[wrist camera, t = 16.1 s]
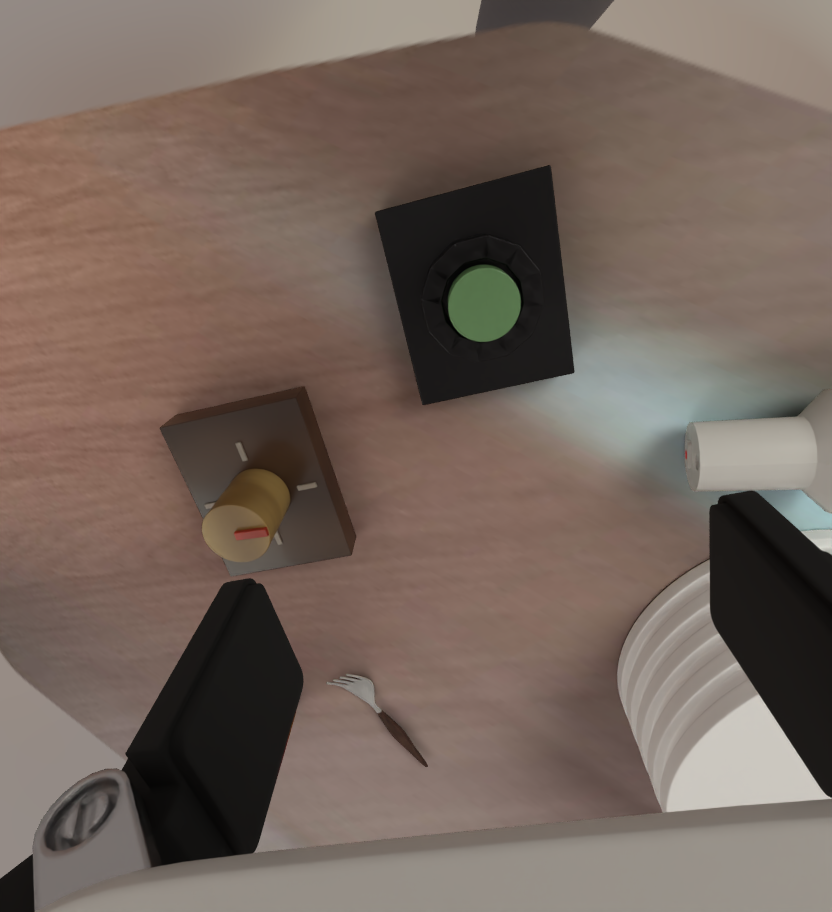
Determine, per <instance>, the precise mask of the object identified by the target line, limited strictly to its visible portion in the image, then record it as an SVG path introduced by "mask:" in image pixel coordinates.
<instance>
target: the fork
mask: <svg viewBox="0 0 832 912" xmlns="http://www.w3.org/2000/svg"><path fill="white" fill-rule="evenodd" d="M346 676H350V677H355V678H358V679H360V680H358V679H353V678H348V677H340V679H345V680H350V681H353V682H349V681H344V680H337V679H333V681H334V682H341V683H345V684H348V685H344V684H340V683H333V682H327V683H326V684H331V685H336V686H340V687H343V688H345V689H346V690H348V691H349V692H351V693H353V694H354V695H356V696H358V697H359V698H361V699H362V700H364V701H365V702H367V703H368V704H370V705H371V706H372V707H373V708H374V709H375V711H376V712H377V714H378V715H379V717H380V718H381V720H382V721H383V723H384V724H385V726H386V727H387V729H388V730H389V732H390V733H391V734H392V736H393V737H394V738H395V739H396V740H397V741H398V742H399V743H400V744H401V745H402V746H403V747H405V748H406V749H407V750H408V751H409V752H410V753H411V754H412V755H413V756H414V757H415V758H416V759H417V760H418V761H419V762H420V763H422V764H423V765H424V766H425V767H428V765H427V763H426V762H425V760H424V759H423V757H422V756H421V754H420V753H419V752H418V750H417V749H416V748H415V746H414V745H413V743H412V742H411V740H410V739H409V737H408V736H407V734H406V733H405V732H404V730H403V729H402V728H401V727H400V726H399V725H398V724H397V723H396V722H395V721H393V720H392V719H391V718H390V717H389V716H388V715H387V714H386V713H384V712H383V711H382V710H381V709H380V708H379V707H378V706H377V705H376V703H375V699H374V685H373V683H372V681H371V680H369V679H368V678H365V677H362V676H358V675H353V674H346Z"/></svg>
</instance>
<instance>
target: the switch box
mask: <svg viewBox="0 0 832 912" xmlns="http://www.w3.org/2000/svg"><path fill="white" fill-rule="evenodd" d="M375 215H376V219H377V223H378V227H379V232H380V236H381V240H382V244H383V248H384V252H385V256H386V260H387V264H388V268H389V272H390V276H391V280H392V284H393V288H394V292H395V296H396V300H397V304H398V308H399V312H400V316H401V320H402V324H403V328H404V332H405V336H406V341H407V345H408V349H409V353H410V357H411V361H412V365H413V369H414V373H415V377H416V381H417V385H418V389H419V393H420V397H421V401H422V404H423V405H426V404H431V403H436V402H440V401H445V400H450V399H455V398H459V397H464V396H469V395H473V394H478V393H483V392H487V391H492V390H497V389H501V388H506V387H511V386H516V385H520V384H525V383H530V382H534V381H539V380H544V379H548V378H553V377H558V376H563V375H567V374H572V373H574V363H573V355H572V346H571V337H570V329H569V320H568V311H567V303H566V294H565V285H564V276H563V268H562V259H561V250H560V242H559V233H558V224H557V216H556V207H555V198H554V190H553V181H552V172H551V166H550V165H548V166H544V167H540V168H537V169H533V170H529V171H525V172H522V173H518V174H514V175H511V176H507V177H503V178H499V179H496V180H492V181H488V182H484V183H481V184H477V185H473V186H470V187H466V188H462V189H458V190H455V191H451V192H447V193H443V194H440V195H436V196H432V197H429V198H425V199H421V200H417V201H414V202H410V203H406V204H402V205H399V206H395V207H391V208H387V209H384V210H380V211H376V212H375ZM476 265H492V266H495V267H498V268H500V269H501V270H503V271H504V272H505V273H507V274H508V275H509V276H510V277H511V279H512V280H513V281H514V282H515V284H516V286H517V287H518V290H519V293H520V297H521V308H520V313H519V316H518V319H517V321H516V322H515V324H514V326H513V327H512V328H511V329H510V330H509V331H508V332H507V333H506V334H505V335H503V336H502V337H500V338H498V339H496V340H493V341H488V342H477V341H473V340H470V339H468V338H466V337H464V336H463V335H461V334H460V333H459V332H458V331H457V330H456V329H455V327H454V326H453V324H452V322H451V320H450V317H449V313H448V294H449V290H450V288H451V285H452V283H453V282H454V280H455V279H456V278H457V277H458V275H459V274H461V273H462V272H463V271H465V270H466V269H468V268H470V267H473V266H476Z"/></svg>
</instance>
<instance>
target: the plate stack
mask: <svg viewBox="0 0 832 912" xmlns="http://www.w3.org/2000/svg"><path fill="white" fill-rule="evenodd" d="M801 532H802V533H803V534H804V535H805V536H806V537H807V538H808V539H809V540H811V541H812V542H813V543H814V544H815V545H816V546H817V547H818V548H819V549H821V550H822V551H825V552H828V553H830V554H831V555H832V529H826V530H808V531H801ZM617 684H618V691H619V696H620V699H621V702H622V705H623V708H624V710H625V713H626V715H627V718H628V720H629V723H630V727H631V729H632V732H633V735H634V737H635V740H636V742H637V744H638V747H639V750H640V754H641V756H642V759H643V762H644V764H645V767H646V770H647V772H648V774H649V777H650V780H651V783H652V786H653V789H654V792H655V794H656V797H657V800H658V802H659V804H660V806H661V808H662V812H663V813H664V812H675V811H686V810H697V809H708V808H719V807H730V806H741V805H755V804H768V803H782V802H795V801H809V800H822V799H832V798H830V797H828V796H827V795H826V794H825V793H824V792H823V791H822V789H821V788H820V787H819V785H818V784H817V782H816V781H815V779H814V778H813V776H812V775H811V773H810V772H809V770H808V769H807V767H806V765H805V764H804V762H803V761H802V759H801V758H800V756H799V755H798V753H797V752H796V750H795V749H794V747H793V746H792V744H791V743H790V741H789V740H788V738H787V736H786V735H785V733H784V732H783V730H782V729H781V727H780V726H779V724H778V723H777V721H776V720H775V718H774V717H773V715H772V714H771V712H770V711H769V709H768V708H767V706H766V704H765V703H764V701H763V700H762V698H761V697H760V695H759V694H758V692H757V691H756V689H755V688H754V686H753V685H752V683H751V682H750V680H749V679H748V677H747V675H746V674H745V672H744V671H743V669H742V668H741V666H740V665H739V663H738V662H737V660H736V659H735V657H734V656H733V654H732V653H731V651H730V650H729V648H728V647H727V645H726V643H725V642H724V640H723V639H722V637H721V636H720V634H719V633H718V631H717V630H716V628H715V626H714V624H713V621H712V618H711V614H710V559H709V560H707V561H705V562H704V563H702V564H700V565H698V566H697V567H695V568H693V569H692V570H690V571H689V572H687V573H686V574H684V575H683V576H681V577H680V578H678V579H677V580H676V581H674V582H673V583H672V584H671V585H669V586H668V587H667V588H666V589H665V590H664V591H662V592H661V593H660V594H659V595H658V596H657V597H656V598H655V599H654V600H653V601H652V602H651V603H650V604H649V605H648V607H647V608H646V609H645V610H644V611H643V613H642V614H641V615H640V616H639V618H638V619H637V621H636V622H635V624H634V625H633V627H632V629H631V630H630V632H629V634H628V636H627V638H626V640H625V643H624V645H623V648H622V651H621V654H620V658H619V663H618V670H617Z"/></svg>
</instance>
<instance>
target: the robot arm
mask: <svg viewBox="0 0 832 912" xmlns="http://www.w3.org/2000/svg"><path fill="white" fill-rule="evenodd" d="M709 515H710V614H711V618H712V621H713V624H714V626H715V628H716V630H717V631H718V633H719V634H720V636H721V637H722V639H723V640H724V642H725V643H726V645H727V647H728V648H729V650H730V651H731V653H732V654H733V656H734V657H735V659H736V660H737V662H738V663H739V665H740V666H741V668H742V669H743V671H744V672H745V674H746V675H747V677H748V679H749V680H750V682H751V683H752V685H753V686H754V688H755V689H756V691H757V692H758V694H759V695H760V697H761V698H762V700H763V701H764V703H765V704H766V706H767V708H768V709H769V711H770V712H771V714H772V715H773V717H774V718H775V720H776V721H777V723H778V724H779V726H780V727H781V729H782V730H783V732H784V733H785V735H786V736H787V738H788V740H789V741H790V743H791V744H792V746H793V747H794V749H795V750H796V752H797V753H798V755H799V756H800V758H801V759H802V761H803V762H804V764H805V765H806V767H807V769H808V770H809V772H810V773H811V775H812V776H813V778H814V779H815V781H816V782H817V784H818V785H819V787H820V788H821V789H822V791H823V792H824V793H825V794H826V795H827V796H828V797H830V798H832V555H831V554H830V553H828V552H825V551H822V550H821V549H819V548H818V547H817V546H816V545H815V544H814V543H813V542H812V541H811V540H809V539H808V538H807V537H806V536H805V535H804V534H803V533H802V532H801V531H799V530H798V529H797V528H796V527H795V526H794V525H793V524H792V523H790V522H789V521H788V520H787V519H786V518H785V517H784V516H783V515H782V514H780V513H779V512H778V511H777V510H776V509H775V508H774V507H773V506H772V505H770V504H769V503H768V502H767V501H766V500H765V499H764V498H763V497H762V496H760V495H759V494H758V493H757V492H755V491H746V492H741V493H735V494H729V495H723V496H721V497H720V498H719V500H718V504H716V505H712V506H711V507H710V512H709ZM302 688H303V673H302V670H301V667H300V665H299V663H298V661H297V658H296V656H295V654H294V652H293V650H292V647H291V645H290V643H289V641H288V638H287V636H286V634H285V632H284V630H283V627H282V625H281V623H280V621H279V619H278V616H277V614H276V612H275V610H274V608H273V605H272V603H271V601H270V599H269V596H268V594H267V592H266V590H265V588H264V586H263V585H262V584H260V583H258V584H256V582H255V581H254V580H253V579H250V578H248V579H243V580H237V581H231V582H226V583H224V584H223V585H222V587H221V588H220V590H219V592H218V594H217V595H216V597H215V599H214V601H213V602H212V604H211V606H210V607H209V609H208V611H207V613H206V614H205V616H204V618H203V620H202V621H201V623H200V625H199V627H198V628H197V630H196V632H195V634H194V635H193V637H192V639H191V641H190V642H189V644H188V646H187V648H186V649H185V651H184V653H183V654H182V656H181V658H180V660H179V661H178V663H177V665H176V667H175V668H174V670H173V672H172V674H171V675H170V677H169V679H168V681H167V682H166V684H165V686H164V688H163V689H162V691H161V693H160V694H159V696H158V698H157V700H156V701H155V703H154V705H153V707H152V708H151V710H150V712H149V714H148V715H147V717H146V719H145V721H144V722H143V724H142V726H141V728H140V729H139V731H138V733H137V734H136V736H135V738H134V740H133V741H132V743H131V745H130V747H129V748H128V750H127V752H126V756H127V757H128V760H127V761H126V763H125V765H124V767H123V769H122V770H119V769H104V770H101V771H98V772H95V773H92V774H90V775H89V776H87V777H85V778H83V779H81V780H80V781H78V782H77V783H76V784H74V785H73V786H72V787H70V788H69V789H68V790H67V791H65V792H64V793H63V794H62V795H61V796H60V797H59V798H58V799H57V800H56V802H55V803H54V804H53V805H52V806H51V807H50V809H49V810H48V811H47V813H46V814H45V816H44V817H43V819H42V820H41V822H40V824H39V826H38V828H37V830H36V833H35V836H34V842H33V854H32V855H31V856H29V857H28V858H27V859H25V860H24V861H23V862H21V863H20V864H19V865H18V866H16V867H15V868H14V869H12V870H11V871H10V872H8V874H6V875H5V876H3V877H2V878H1V879H0V912H832V799H822V800H809V801H795V802H782V803H768V804H755V805H741V806H730V807H719V808H708V809H697V810H686V811H675V812H664V813H653V814H643V815H632V816H621V817H610V818H599V819H588V820H577V821H567V822H557V823H546V824H536V825H526V826H515V827H505V828H495V829H484V830H474V831H464V832H454V833H444V834H433V835H423V836H413V837H403V838H393V839H384V840H374V841H364V842H355V843H345V844H335V845H326V846H316V847H306V848H297V849H287V850H278V851H268V852H259V853H253V852H254V851H255V850H256V848H257V845H258V843H259V839H260V836H261V832H262V829H263V825H264V822H265V818H266V815H267V811H268V808H269V804H270V801H271V797H272V794H273V790H274V787H275V783H276V780H277V776H278V773H279V769H280V766H281V762H282V759H283V755H284V751H285V748H286V744H287V741H288V737H289V734H290V730H291V727H292V723H293V720H294V716H295V713H296V709H297V706H298V702H299V699H300V695H301V692H302Z"/></svg>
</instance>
